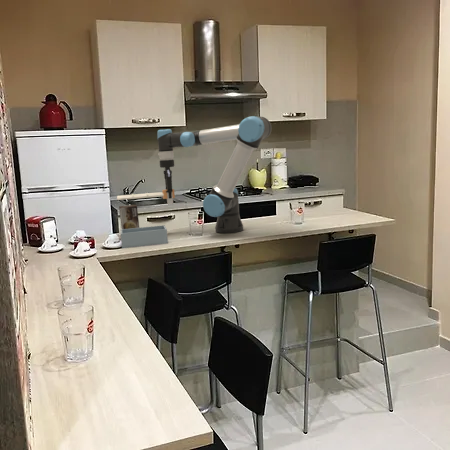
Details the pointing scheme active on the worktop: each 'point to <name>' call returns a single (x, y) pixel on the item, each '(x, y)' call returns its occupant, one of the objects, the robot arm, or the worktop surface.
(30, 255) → the worktop surface
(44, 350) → the worktop surface
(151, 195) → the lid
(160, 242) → the tub
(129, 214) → the coffee box
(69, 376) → the worktop surface
